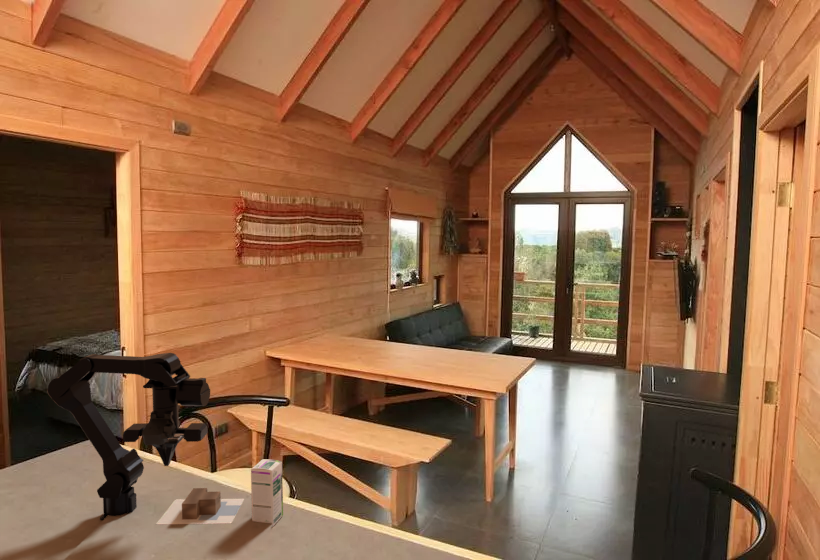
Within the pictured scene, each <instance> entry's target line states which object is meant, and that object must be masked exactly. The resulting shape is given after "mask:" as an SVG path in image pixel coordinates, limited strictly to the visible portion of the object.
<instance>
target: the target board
mask: <svg viewBox="0 0 820 560" xmlns="http://www.w3.org/2000/svg"><path fill="white" fill-rule="evenodd" d="M185 499H186V498H185ZM185 499H183V498H182V499H180V498H179V499H177V498H176V499H174V500H173V502H172V503H171V504H170V506H169V507H168V508H167V509H166V510H165V512H164V514H162V516H161V517H160V518H159V519H158V521H157V522H156V523H155V525H197V524H198V525H200V524H201V525H203V524H204V525H205V524H207V525H211V524H213V525H215V524H217V525H218V524H220V525H221V524H232V523H233V522H234V520H235V518H236V515H237V514H238V512H239V509H240V508H241V507H242V504H243V503H244V500H245V498H221V507H220V509H219V510H218V512H217V514H216V515H199V517H198V518H197V519H183V520H182V503H183V502H184V500H185Z"/></svg>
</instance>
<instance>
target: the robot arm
mask: <svg viewBox="0 0 820 560" xmlns="http://www.w3.org/2000/svg"><path fill="white" fill-rule="evenodd" d="M96 373H101V374H102V373H103V374H105V373H106V374H120V375H121V374H123V375H124V374H126V375H136V376H141V377H142V378H144V379H147V382H146V383H145V384H144V385H143V386H142V388H143V389H152V390H151V392H152V411H150V416H149V417H150V418H149V421H148V423H133V424H131V425H130V426H129V427H128V428H126V429H125V430H124V431H123V432H122V433H123V434H122V442H123V443H135V442H137V440H139V438H140V437H142V440H143V444H144V446H153V447H154V448H155V450H156V451H157V453H158V455H159V457H160V459H161V461H162V464H163V466H164V467H169V465H171V462H172V459H173V456H174V453H175V452H176V448H177V446H178V444H180V442H182V440H185V441H186V442H188V443H189V442H190V443H191V442H192V443H193V442H194V443H195V442H200V441H202V440H203V439H204V438H205V437H206V436H207V434H208V433H209V431H208V428H209V427H208V425H207V424H206V422H195V423H194V422H191V423H190V424H189V425H188V426H187V427H180V425H181V420H179V410H180V409H181V406H183V407H184V406H185V407H193V406H194V407H206V406H207V405H208V403H209V402H210V397H211V388H210V386H209V383H208V382H207V378H206V377H199V378H191V375H190V374H189V373H188V371H187V370H186V368H185V366H183V365H182V364H181V360H180V357H178V356H177V354H175V353H173V352H165V353H164V352H163V353H157V354H153V355H147V356H130V355H129V356H127V355H110V354H109V355H107V354H106V355H105V354H98V353H92V354H90V355H86V356H83V357H82V358H80V359H79V360H78V361H77V362H76V363H75V364H74V365H73V366H72V367H70V368H69V369H68V370H67V371H65V372H63V373H62V374H61V375H60V376H58V377H55V378H53V379H51V381H49V383H48V386H47V389H46V391H47V394H48V396H49V398H51V400H52V401H53V402H54V403H55V404H56V405H57V406H58V407H60V408H62V409H63V410H66V411H68V412H69V413H71V414H72V416H73V418H74V419H75V421H76V422H77V423H78V425H79V426H80V428H81V430H82V431H83V432H84V434H85V436H86V437H87V439H88V440H89V442H90V443H91V444H92V446H93V448H94V449H95V451H96V452H97V453H98V455H99V456H100V458H101V460H102V471H103V475H104V478H105V482H104V483H102V484H101V485H100V487H99V488H97V489H96V491H97V494H98V497H99V499H102V506H103V507H102V509H103V511H102V512H103V514H102V515H101V516H100V517H99V519H100V521H104V520H105V519H106V518H107V517H108V516H110V517H118V516H122V515H125V514H131V513H133V512H134V511H135V510H136V508H137V493H135V486H134V484H136V483H137V482H138V479H139V478H141V477H142V475H143V472H144V469H145V465H144V464H143V462H144V459H142V458H141V456H140V455H139V453H138V451H137V450H136V448H132V449H131V450H128V449H126V448H125V447H123V446H122V445H121V443H120V442H119V440H118V439H117V437H116V435H115V434H114V433H113V431H112V429H111V428H110V427H109V425H108V424H107V422H106V420H105V419H104V418H103V416H102V414H101V413H100V411H99V410H98V408H97V407H96V406H95V404H94V402H93V401H92V390H91V386H90V384H89V382H90V380H92V379H93V378H94V377H95V375H96ZM174 375H175V376H174ZM173 376H174V377H173Z"/></svg>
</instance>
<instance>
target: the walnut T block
mask: <svg viewBox="0 0 820 560" xmlns="http://www.w3.org/2000/svg"><path fill="white" fill-rule="evenodd" d="M221 497H222V496H221V491H208V488H207V487H202V488H201V487H195V488H192V489H191V491H190V492H189V494H188V495H187V496H186V498H185V500H184V502H183V503H182V520H183V519H197V518H198V517H199V515H216V514H217V512H218V510H219V509H220V507H221V499H222V498H221Z"/></svg>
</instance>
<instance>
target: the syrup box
mask: <svg viewBox="0 0 820 560" xmlns="http://www.w3.org/2000/svg"><path fill="white" fill-rule="evenodd" d="M283 485H284V484H283V461H281V460H278V459H261V460H260V461H259V462H257V464H255V465H254V466H253V467H252V468H251V469H250V489H251V490H250V491H251V492H250V493H251V521H252V522H258V523H265V524H271V528H273V527H275V525H276V524H277V523H278V522H279V520H280V519H281V518H282V517H283V516H284V499H283V498H284V495H283V494H284V493H283V492H284V491H283V490H284V489H283Z"/></svg>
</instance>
